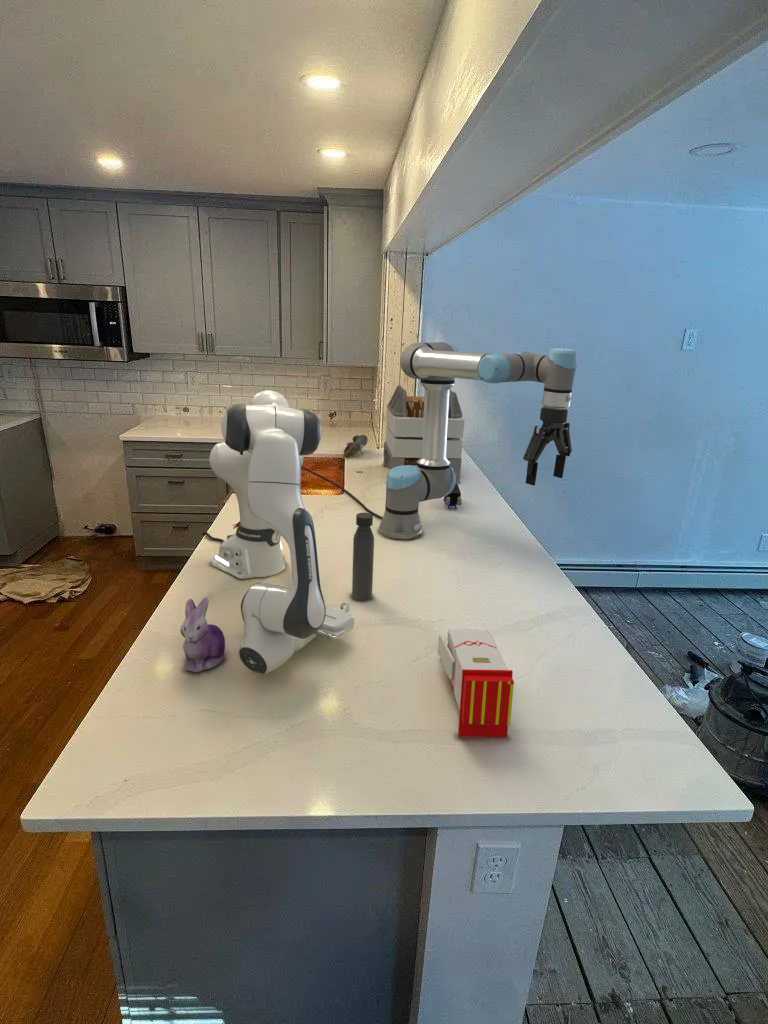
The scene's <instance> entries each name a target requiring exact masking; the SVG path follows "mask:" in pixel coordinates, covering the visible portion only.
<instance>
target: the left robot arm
mask: <svg viewBox="0 0 768 1024" xmlns="http://www.w3.org/2000/svg"><path fill="white" fill-rule="evenodd" d="M220 426H221V435H222V437H223V439H224V441H222V442H218V443H216V444H214V446H213V447H212V449H211V451H210V454H209V459H208V461H209V462H208V463H209V466H210V469H211V471H212V472H213V474H214V475H215V476H216V477H217V478H218V479H220V480H222V481H224V482H225V483H226V484H227V485H228V486H229V487H230V488H231V489H232V491H233V493H234V494H235V496H236V500H237V503H238V511H239V521H238V522H237V523H235V524H232V526H233V527H232V529H233V530H235V529H236V530H235V533H233V534H228V535H227V537H226V539H225V540H224V539H222V538H218V537H215V536H212V535H211V534H210V533H209V532H207V531H203V532H202V533H201V536H206V537H207V538H208V539H210V540H211V541H214V542H219V543H221V544H220V546H219V548H218V554H217V555H214V557H213V558H212V559H211V561H210V565H211V566H212V567H215V568H217V569H219V570H221V571H223V572H225V573H226V574H227V573H228V574H229V575H231V576H233V577H235V578H237V579H239V580H247V579H250V578H266V577H271V576H275V575H277V574H279V573H281V572H283V571H284V570H285V568H286V563H285V559H284V557H283V551H282V550H283V545H282V542H281V537H282V538H283V539H284V540H285V542H286V544H287V546H288V549H289V553H290V566H291V575H292V586H289V585H288V586H287V585H280V584H276V583H268V582H267V583H266V582H256V583H254V584H253V585H251V586H250V587H249V588H248V589H247V590H246V592H245V593H244V595H243V597H242V598H241V600H240V601H241V602H240V614H241V618H242V621H243V624H244V625H243V627H244V628H243V629H244V631H243V638H242V641H241V644H240V646H239V649H238V656H239V659H240V661H241V663H242V664H243V665H244V667H246V668H247V669H248V670H249V671H251V672H253V673H256V674H259V675H266V674H268V673H271V672H273V671H275V670H276V669H278V668H280V667H281V666H282V665H283V664H284V663H286V662H287V661H288V660H290V659H291V658H292V656H294V653H295V652H297V651H300V650H301V649H303V648H304V647H305V646H306V645H308V644H309V643H310V642H311V641H312V640H313V639H314V638H315V637H316V636H320V637H325V638H326V639H329V640H337V639H340V638H342V637H344V636H345V635H347V634H348V633H350V632H352V630H354V627H355V616H354V614H353V613H351V612H349V610H350V604H349V603H345V602H343V603H341V604H340V605H339V608H340V609H338V608H336V607H333V606H329V605H327V604H326V603H325V602H326V601H325V599H324V595H323V592H322V585H321V577H320V568H319V557H318V550H317V549H318V548H317V539H316V531H315V530H316V529H315V523H314V520H313V517H312V514H311V513H310V512H309V511H308V510H306V507H305V505H304V502H303V498H302V492H301V490H302V489H301V485H302V468H301V467H302V466H303V464H304V457H305V456H310V455H313V454H314V453H315V452H316V451H317V450H318V447H319V445H320V442H321V439H322V434H323V433H322V432H323V431H322V426H321V420H320V418H319V417H318V416H317V415H316V413H315V412H313V411H311V410H307V409H304V408H300V409H299V408H295V407H290V404H289V401H288V400H287V398H285V396H284V395H283V394H281V393H280V392H278V391H275V390H270V389H265V390H262V391H259V392H258V393H256V394H255V395H254V396H253V397H252V398H251V400H250V402H249V404H246V403H235V404H231V405H230V406H229V407H228V408H227V409H226V411H225V413H224V415H223V416H222V419H221V425H220Z"/></svg>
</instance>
